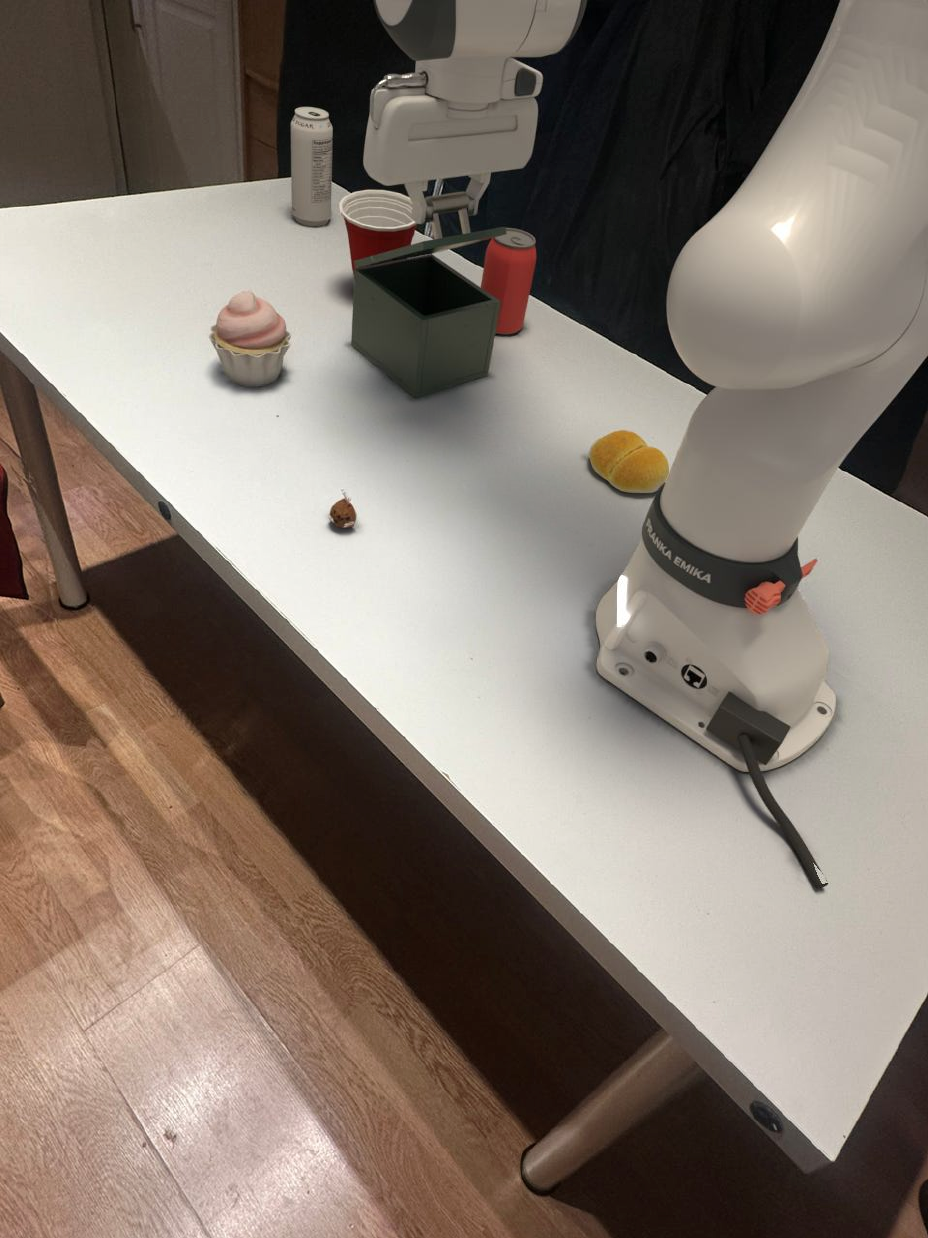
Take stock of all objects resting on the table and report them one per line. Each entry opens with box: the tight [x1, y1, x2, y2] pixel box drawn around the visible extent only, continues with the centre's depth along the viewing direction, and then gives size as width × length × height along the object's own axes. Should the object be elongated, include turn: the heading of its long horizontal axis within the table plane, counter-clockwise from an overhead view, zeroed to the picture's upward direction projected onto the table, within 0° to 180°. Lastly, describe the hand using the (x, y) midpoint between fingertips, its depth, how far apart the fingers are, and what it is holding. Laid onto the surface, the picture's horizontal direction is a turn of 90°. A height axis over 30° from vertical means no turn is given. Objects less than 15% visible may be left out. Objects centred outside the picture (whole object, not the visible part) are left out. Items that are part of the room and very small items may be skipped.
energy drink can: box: [290, 106, 334, 227], centre depth 124 cm, size 6×6×15 cm
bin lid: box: [354, 191, 507, 268], centre depth 94 cm, size 14×12×5 cm
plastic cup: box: [338, 189, 419, 276], centre depth 110 cm, size 11×11×12 cm
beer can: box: [480, 227, 537, 335], centre depth 109 cm, size 7×7×12 cm
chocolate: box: [328, 488, 358, 529], centre depth 79 cm, size 3×2×4 cm
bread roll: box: [589, 429, 670, 494], centre depth 92 cm, size 8×9×4 cm
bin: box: [350, 254, 501, 399], centre depth 101 cm, size 14×12×10 cm
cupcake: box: [208, 289, 293, 387], centre depth 93 cm, size 9×9×10 cm
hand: (444, 217), depth 90 cm, fingers closed on bin lid, 5 cm apart
